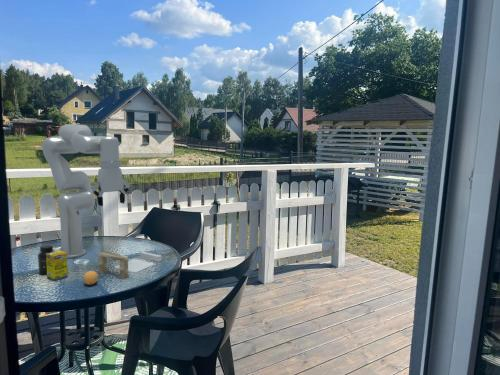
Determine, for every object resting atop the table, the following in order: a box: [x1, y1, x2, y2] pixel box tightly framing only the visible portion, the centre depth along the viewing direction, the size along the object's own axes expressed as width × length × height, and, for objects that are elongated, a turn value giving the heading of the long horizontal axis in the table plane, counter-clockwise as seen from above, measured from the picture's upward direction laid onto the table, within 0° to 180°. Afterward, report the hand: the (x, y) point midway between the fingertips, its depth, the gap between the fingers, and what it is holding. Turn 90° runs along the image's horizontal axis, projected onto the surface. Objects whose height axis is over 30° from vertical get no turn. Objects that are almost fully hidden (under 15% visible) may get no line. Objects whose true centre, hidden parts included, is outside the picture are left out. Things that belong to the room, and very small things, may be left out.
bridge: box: [97, 250, 129, 280], centre depth 163 cm, size 3×14×9 cm, turn 63°
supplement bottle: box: [37, 244, 54, 276], centre depth 163 cm, size 7×7×12 cm
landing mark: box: [113, 258, 155, 274], centre depth 176 cm, size 13×13×1 cm
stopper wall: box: [139, 251, 163, 263], centre depth 185 cm, size 2×12×2 cm, turn 63°
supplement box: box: [46, 250, 69, 282], centre depth 159 cm, size 6×6×11 cm
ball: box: [83, 270, 99, 286], centre depth 153 cm, size 6×6×6 cm
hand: (111, 204), depth 164 cm, fingers open, 9 cm apart
